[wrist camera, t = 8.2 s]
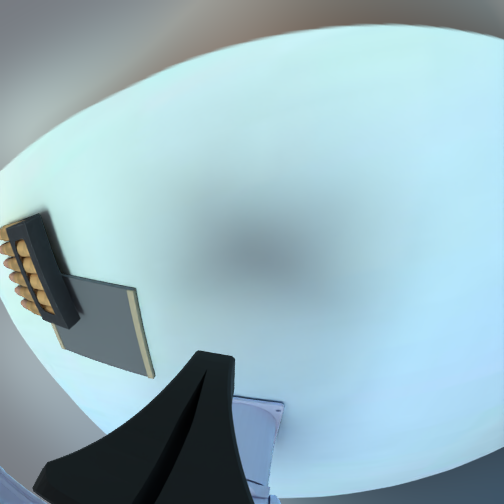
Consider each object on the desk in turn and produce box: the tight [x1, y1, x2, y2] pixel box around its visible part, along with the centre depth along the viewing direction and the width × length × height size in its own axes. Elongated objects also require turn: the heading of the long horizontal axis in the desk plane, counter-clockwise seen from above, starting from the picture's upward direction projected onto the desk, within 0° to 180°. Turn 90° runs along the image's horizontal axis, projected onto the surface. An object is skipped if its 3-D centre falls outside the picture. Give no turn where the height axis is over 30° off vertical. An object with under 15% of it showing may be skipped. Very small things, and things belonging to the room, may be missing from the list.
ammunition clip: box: [0, 214, 81, 330], centre depth 23 cm, size 11×2×12 cm
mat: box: [51, 273, 155, 379], centre depth 25 cm, size 11×13×1 cm
